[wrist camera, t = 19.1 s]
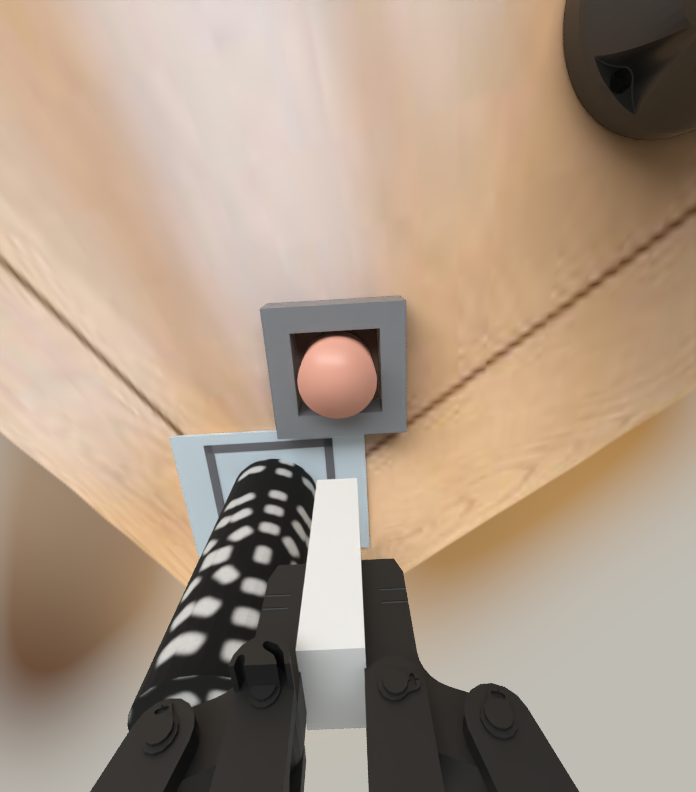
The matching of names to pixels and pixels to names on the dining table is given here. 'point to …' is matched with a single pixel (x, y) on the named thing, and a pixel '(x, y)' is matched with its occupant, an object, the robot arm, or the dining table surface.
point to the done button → (337, 375)
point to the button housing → (336, 316)
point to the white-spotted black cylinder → (231, 583)
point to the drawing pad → (232, 452)
